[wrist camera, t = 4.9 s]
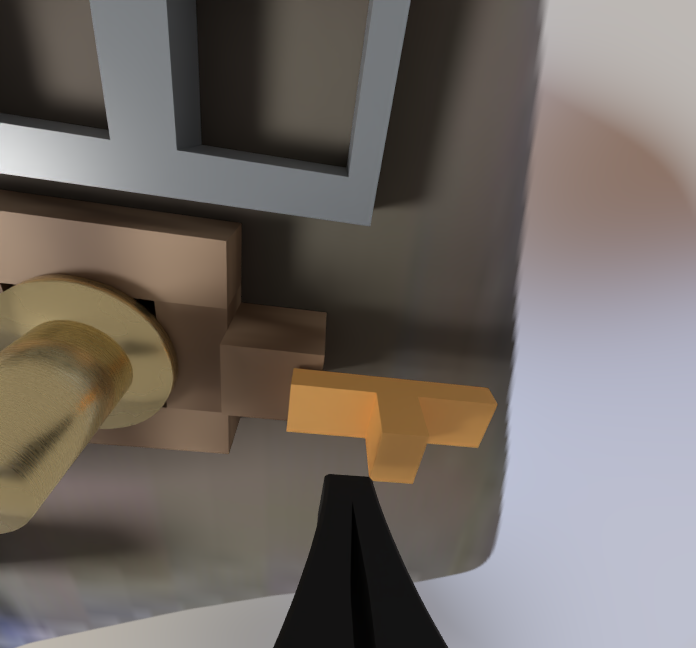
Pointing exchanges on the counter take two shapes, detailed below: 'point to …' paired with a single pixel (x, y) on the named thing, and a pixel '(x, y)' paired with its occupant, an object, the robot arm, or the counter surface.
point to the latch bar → (389, 416)
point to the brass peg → (71, 379)
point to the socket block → (172, 310)
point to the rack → (185, 123)
